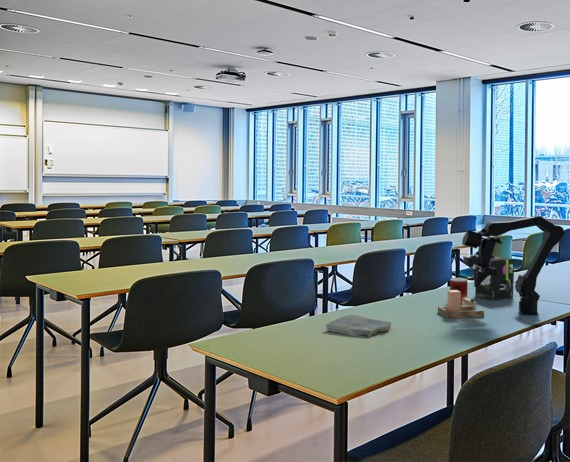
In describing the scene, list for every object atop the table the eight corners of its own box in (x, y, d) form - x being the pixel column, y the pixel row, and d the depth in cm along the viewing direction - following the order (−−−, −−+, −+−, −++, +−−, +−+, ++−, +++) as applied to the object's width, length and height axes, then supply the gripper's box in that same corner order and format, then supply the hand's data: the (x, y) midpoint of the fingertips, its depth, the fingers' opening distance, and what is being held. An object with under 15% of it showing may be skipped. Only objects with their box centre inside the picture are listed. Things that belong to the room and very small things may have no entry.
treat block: (456, 313, 249) (456, 290, 249) (460, 315, 245) (460, 291, 245) (447, 314, 249) (447, 290, 248) (451, 316, 245) (451, 292, 244)
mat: (474, 319, 242) (474, 317, 242) (486, 325, 232) (486, 323, 232) (451, 320, 240) (451, 318, 240) (462, 326, 230) (462, 324, 230)
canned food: (465, 301, 277) (465, 277, 276) (468, 305, 269) (469, 280, 268) (448, 301, 278) (448, 277, 277) (451, 304, 270) (451, 280, 269)
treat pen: (464, 306, 265) (464, 300, 265) (488, 318, 244) (488, 310, 243) (427, 308, 263) (427, 301, 263) (448, 319, 241) (448, 312, 241)
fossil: (373, 342, 213) (394, 329, 227) (373, 330, 213) (394, 317, 226) (326, 336, 225) (348, 324, 239) (325, 324, 224) (348, 312, 238)
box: (491, 300, 278) (492, 260, 277) (474, 296, 289) (475, 257, 287) (514, 297, 284) (515, 258, 282) (496, 293, 295) (497, 255, 293)
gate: (466, 305, 265) (466, 295, 264) (476, 310, 256) (476, 299, 255) (461, 305, 265) (462, 295, 264) (471, 310, 255) (471, 299, 255)
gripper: (459, 243, 258) (449, 278, 259) (478, 250, 240) (467, 287, 241) (482, 249, 260) (472, 283, 261) (503, 256, 241) (492, 293, 243)
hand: (475, 287), depth 252 cm, fingers closed
